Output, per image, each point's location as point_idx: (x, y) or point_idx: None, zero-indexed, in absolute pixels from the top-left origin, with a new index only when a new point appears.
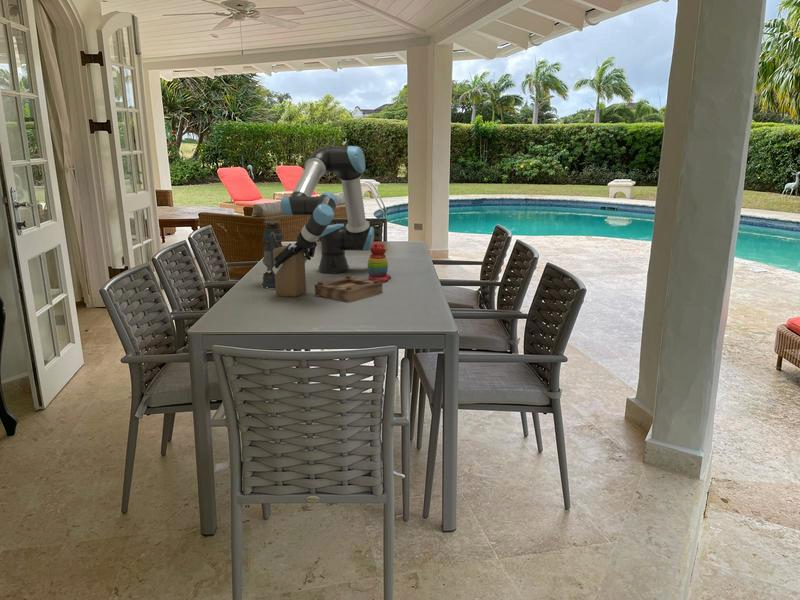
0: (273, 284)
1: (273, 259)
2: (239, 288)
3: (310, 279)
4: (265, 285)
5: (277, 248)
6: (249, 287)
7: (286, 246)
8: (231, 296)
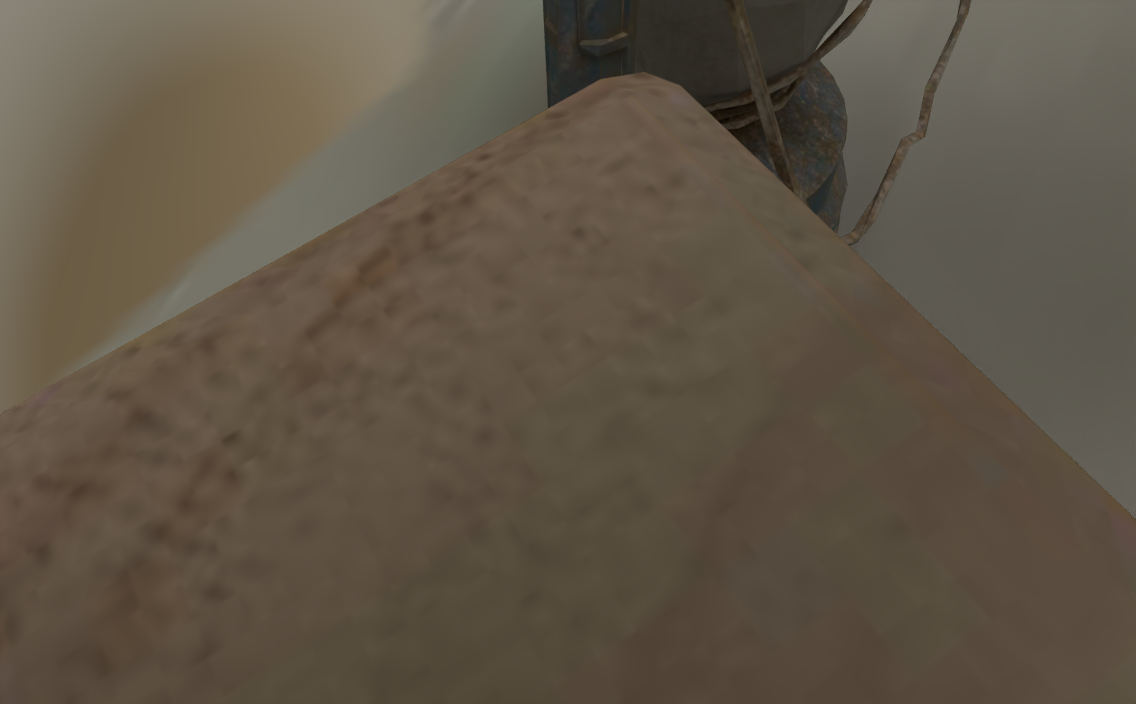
0: None
1: (560, 89)
2: (387, 108)
3: (1132, 147)
4: None
5: (15, 531)
6: (468, 120)
7: (584, 309)
8: (149, 326)
